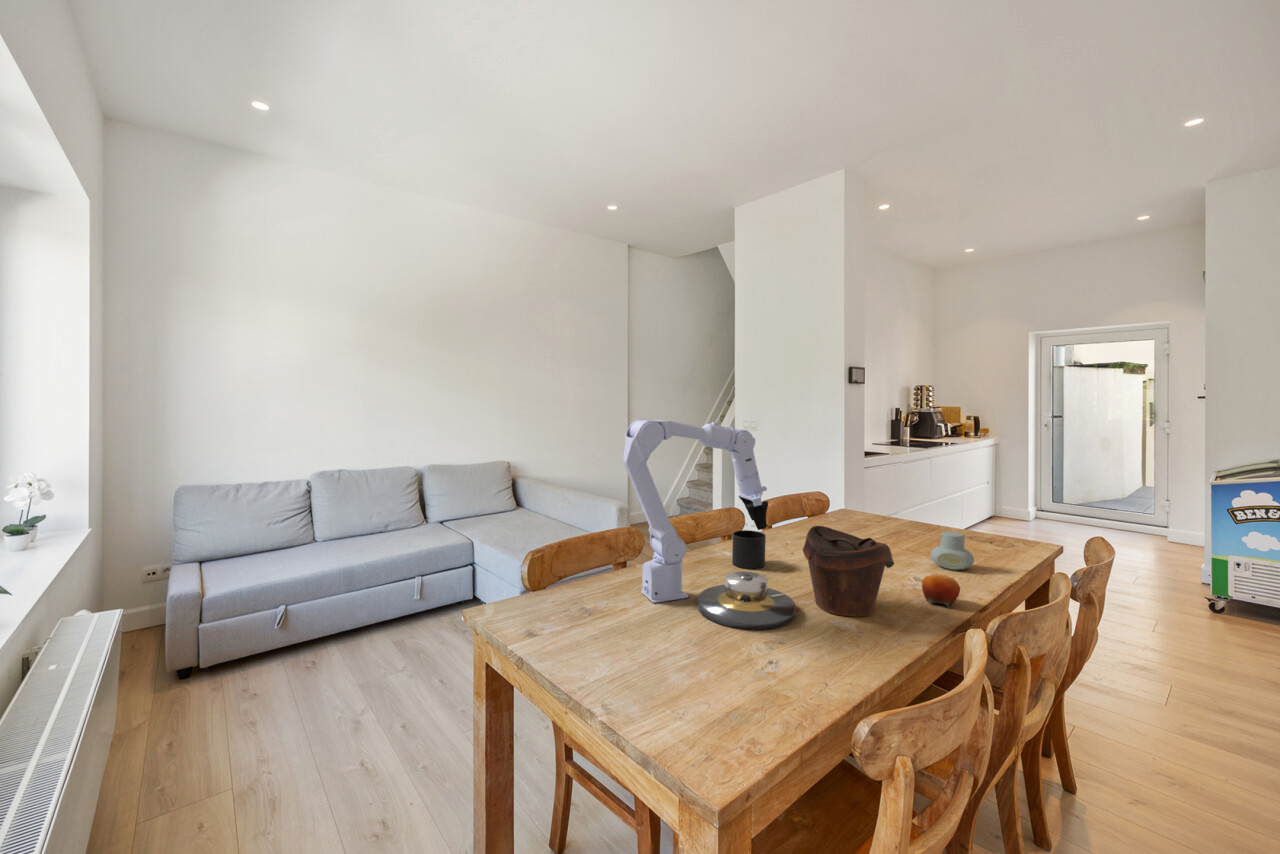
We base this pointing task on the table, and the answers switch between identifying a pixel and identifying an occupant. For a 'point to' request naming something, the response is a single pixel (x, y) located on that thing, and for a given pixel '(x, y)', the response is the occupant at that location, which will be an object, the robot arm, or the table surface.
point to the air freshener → (952, 552)
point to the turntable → (746, 609)
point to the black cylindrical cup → (748, 549)
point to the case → (845, 570)
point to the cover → (746, 585)
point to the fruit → (940, 589)
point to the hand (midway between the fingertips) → (758, 523)
